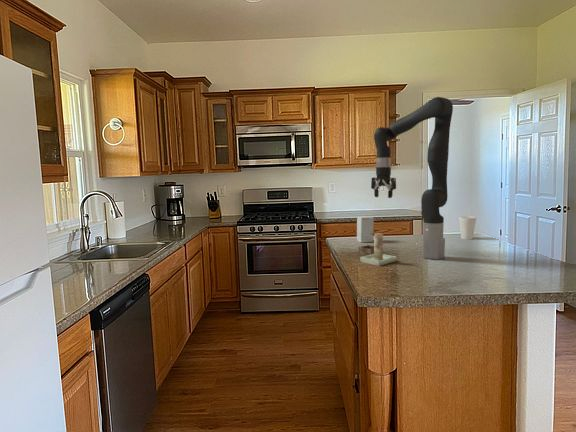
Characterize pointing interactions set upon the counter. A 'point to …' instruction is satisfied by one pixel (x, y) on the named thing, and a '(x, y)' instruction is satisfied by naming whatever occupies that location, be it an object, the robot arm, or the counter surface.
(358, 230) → the skincare box
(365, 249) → the box
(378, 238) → the dowel
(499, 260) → the counter surface
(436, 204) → the robot arm
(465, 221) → the foam cup
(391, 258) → the tray
